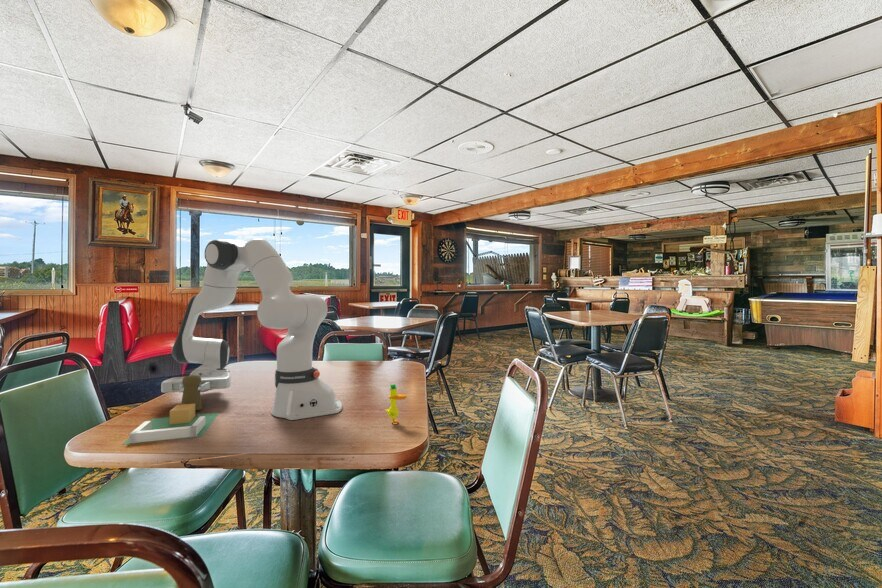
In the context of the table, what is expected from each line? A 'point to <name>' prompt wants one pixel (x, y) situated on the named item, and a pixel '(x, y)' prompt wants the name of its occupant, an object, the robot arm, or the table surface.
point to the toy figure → (394, 402)
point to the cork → (191, 391)
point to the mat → (180, 424)
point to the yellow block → (182, 413)
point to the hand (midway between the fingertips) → (191, 389)
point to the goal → (165, 432)
